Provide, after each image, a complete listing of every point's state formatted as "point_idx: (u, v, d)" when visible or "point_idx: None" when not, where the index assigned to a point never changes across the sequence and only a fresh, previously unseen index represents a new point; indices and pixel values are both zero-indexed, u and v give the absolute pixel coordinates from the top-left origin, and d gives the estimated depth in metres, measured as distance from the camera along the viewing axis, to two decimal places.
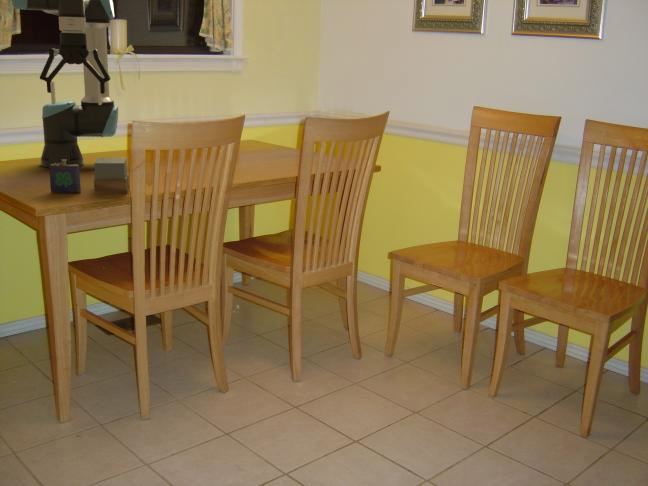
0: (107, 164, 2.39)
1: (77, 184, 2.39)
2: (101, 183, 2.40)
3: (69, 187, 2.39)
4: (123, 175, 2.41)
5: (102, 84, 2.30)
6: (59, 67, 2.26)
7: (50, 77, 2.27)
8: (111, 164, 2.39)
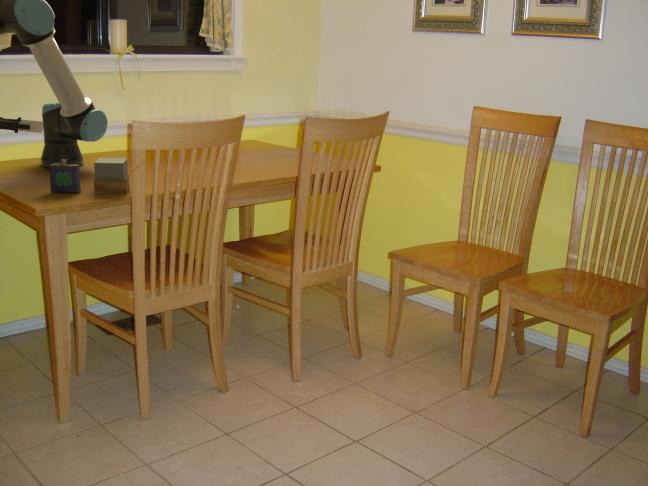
0: (106, 164, 2.39)
1: (77, 184, 2.39)
2: (101, 183, 2.40)
3: (69, 187, 2.39)
4: (122, 175, 2.40)
5: (19, 128, 2.26)
6: None
7: None
8: (110, 164, 2.39)
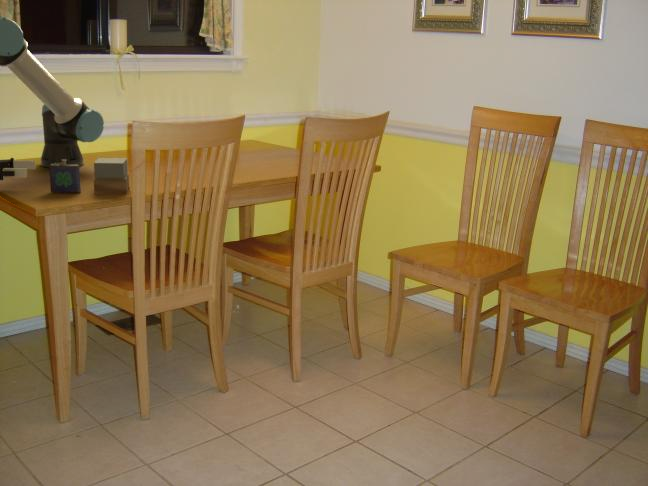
0: (106, 164, 2.39)
1: (77, 184, 2.39)
2: (101, 183, 2.40)
3: (69, 187, 2.39)
4: (122, 175, 2.40)
5: (4, 175, 2.28)
6: None
7: (9, 168, 2.42)
8: (110, 164, 2.39)
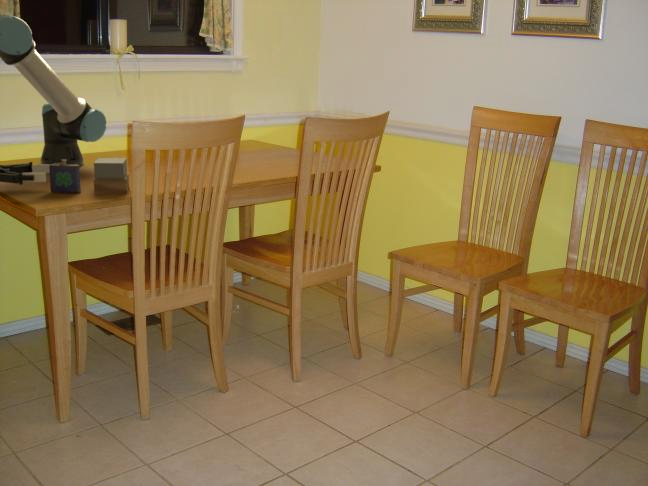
0: (106, 164, 2.39)
1: (77, 184, 2.39)
2: (101, 183, 2.40)
3: (69, 187, 2.39)
4: (122, 175, 2.40)
5: None
6: None
7: None
8: (110, 164, 2.39)
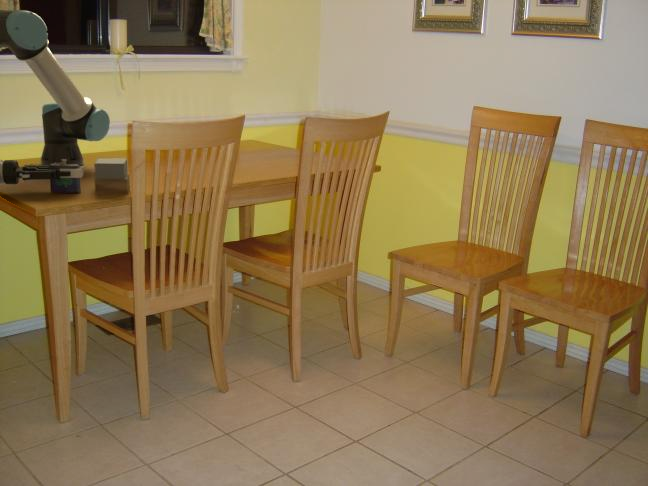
0: (107, 164, 2.39)
1: (77, 184, 2.39)
2: (102, 183, 2.40)
3: (69, 187, 2.39)
4: (123, 175, 2.40)
5: None
6: None
7: None
8: (111, 164, 2.39)
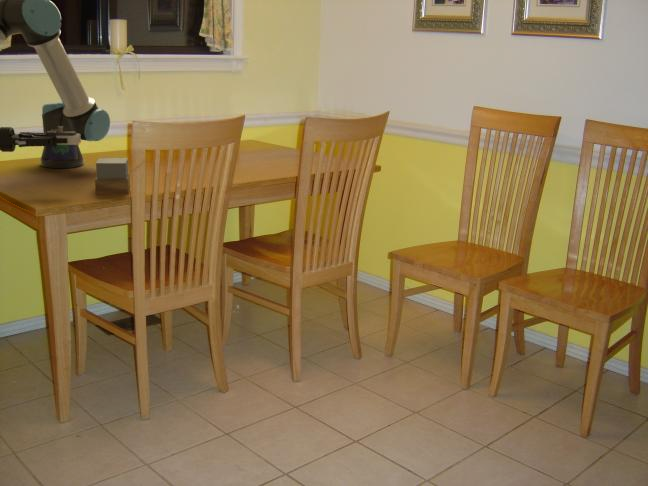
0: (108, 164, 2.39)
1: (74, 151, 2.36)
2: (102, 183, 2.40)
3: (66, 155, 2.35)
4: (124, 175, 2.41)
5: (57, 143, 2.33)
6: None
7: None
8: (112, 164, 2.39)
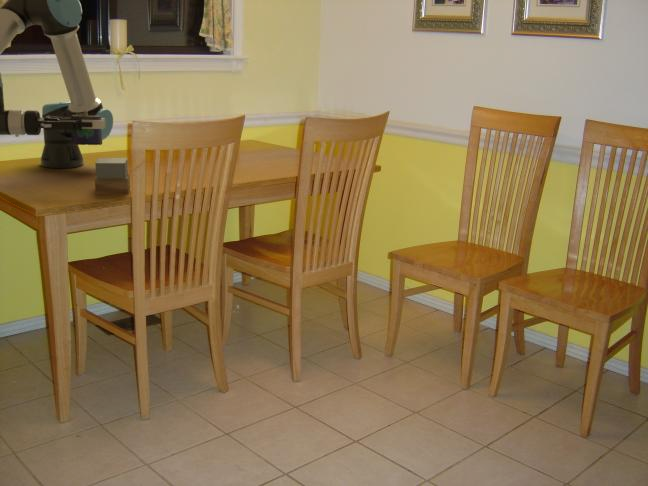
0: (108, 164, 2.39)
1: (99, 135, 2.37)
2: (102, 183, 2.40)
3: (90, 139, 2.36)
4: (124, 175, 2.40)
5: (82, 126, 2.34)
6: None
7: None
8: (112, 164, 2.39)
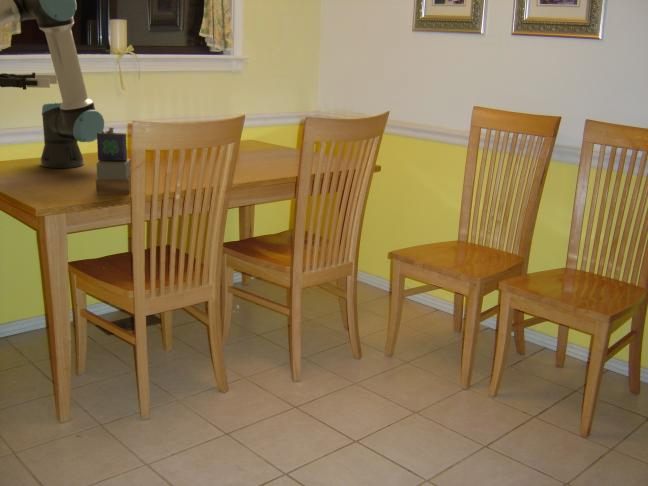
0: (109, 165, 2.38)
1: (124, 152, 2.41)
2: (103, 184, 2.39)
3: (115, 156, 2.41)
4: (125, 176, 2.39)
5: (27, 85, 2.29)
6: None
7: None
8: (113, 165, 2.38)
